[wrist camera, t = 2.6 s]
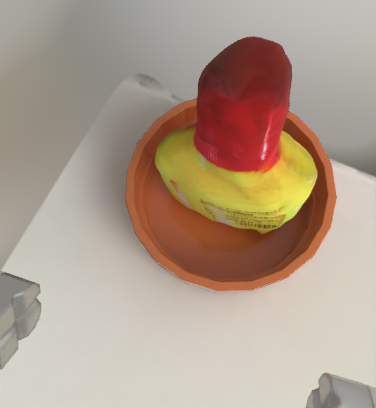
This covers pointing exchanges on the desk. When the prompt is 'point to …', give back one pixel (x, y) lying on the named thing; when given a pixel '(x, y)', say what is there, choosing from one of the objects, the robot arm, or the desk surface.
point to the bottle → (240, 143)
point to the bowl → (219, 232)
